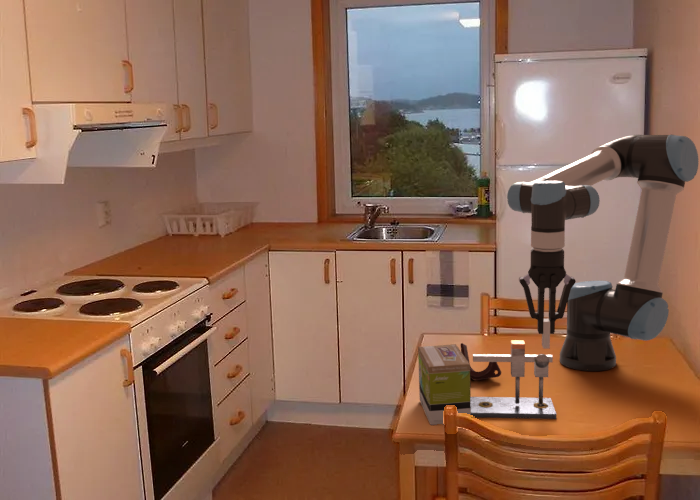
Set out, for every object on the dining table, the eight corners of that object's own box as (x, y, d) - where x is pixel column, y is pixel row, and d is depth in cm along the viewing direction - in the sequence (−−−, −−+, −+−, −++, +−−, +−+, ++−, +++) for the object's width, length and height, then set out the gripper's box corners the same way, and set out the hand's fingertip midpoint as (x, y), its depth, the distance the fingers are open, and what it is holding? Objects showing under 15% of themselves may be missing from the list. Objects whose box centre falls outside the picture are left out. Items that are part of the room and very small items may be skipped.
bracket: (500, 375, 202) (493, 337, 204) (436, 385, 206) (430, 348, 208) (502, 376, 207) (496, 339, 210) (440, 386, 212) (434, 349, 214)
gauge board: (550, 402, 190) (550, 397, 190) (556, 419, 180) (556, 413, 180) (468, 401, 192) (468, 396, 192) (469, 417, 183) (469, 412, 182)
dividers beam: (550, 401, 186) (551, 351, 184) (552, 405, 183) (553, 355, 181) (472, 400, 188) (472, 350, 186) (473, 404, 186) (473, 354, 183)
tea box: (418, 401, 193) (417, 345, 190) (457, 399, 194) (457, 342, 191) (429, 426, 179) (428, 365, 176) (472, 423, 179) (471, 362, 177)
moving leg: (523, 400, 187) (523, 340, 184) (524, 405, 184) (524, 344, 181) (510, 400, 187) (510, 340, 184) (511, 405, 185) (511, 343, 182)
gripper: (573, 245, 181) (571, 342, 185) (517, 245, 182) (516, 341, 187) (579, 251, 173) (576, 352, 178) (520, 251, 175) (519, 351, 179)
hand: (545, 346), depth 182 cm, fingers closed
